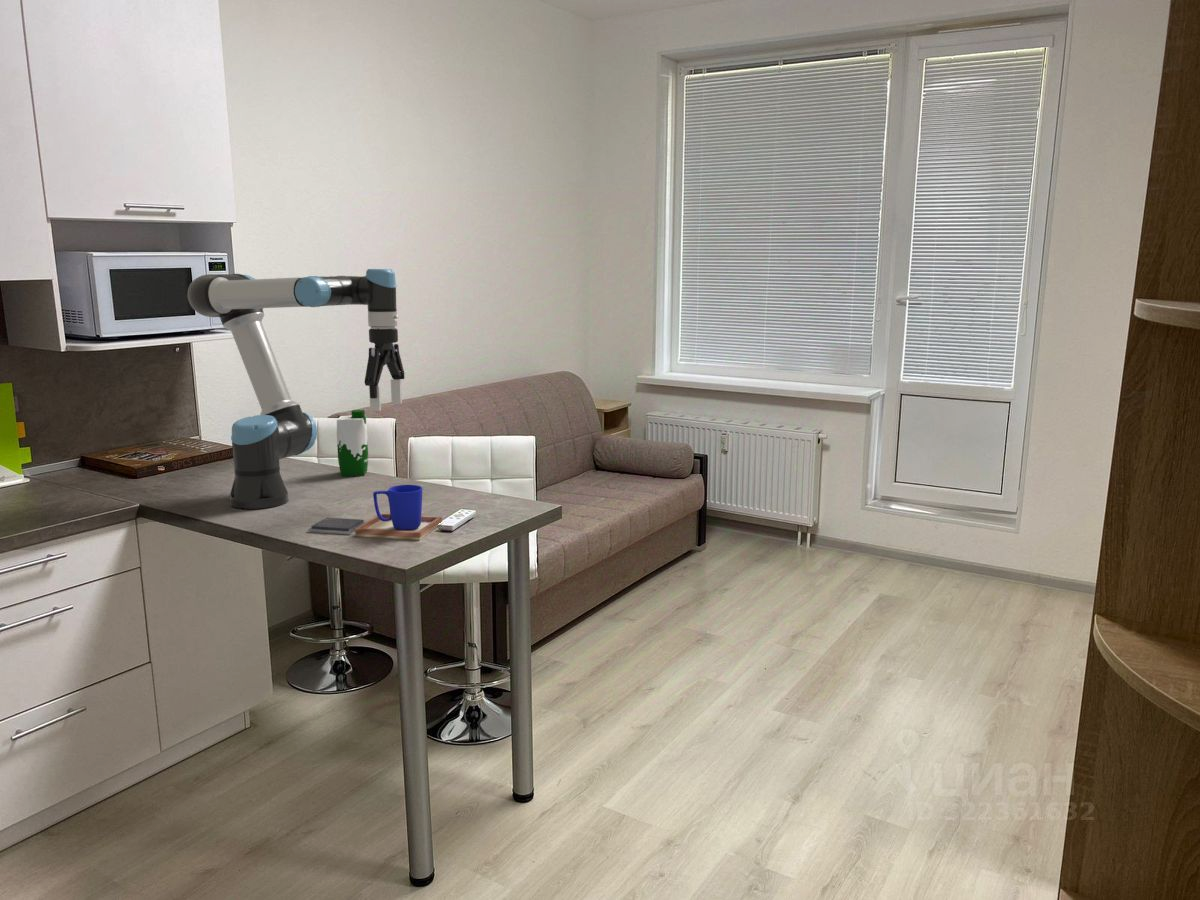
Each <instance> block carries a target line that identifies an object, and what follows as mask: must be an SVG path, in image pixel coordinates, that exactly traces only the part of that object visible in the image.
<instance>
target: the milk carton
mask: <svg viewBox="0 0 1200 900" xmlns="http://www.w3.org/2000/svg"><path fill="white" fill-rule="evenodd" d="M350 413H351V415H341V416H339V417H338V418H337V419H336V446H337V461H338V466H339V472H340V477H358V476H359V477H361V476H362V475H363V477H364V476H365V475H366V473H367V472H368V467H369V465H368V464H369V463H368V462H369V444H368V427H367V426H368V425H367V416H366V411H365V409H352V410H351V411H350Z"/></svg>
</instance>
